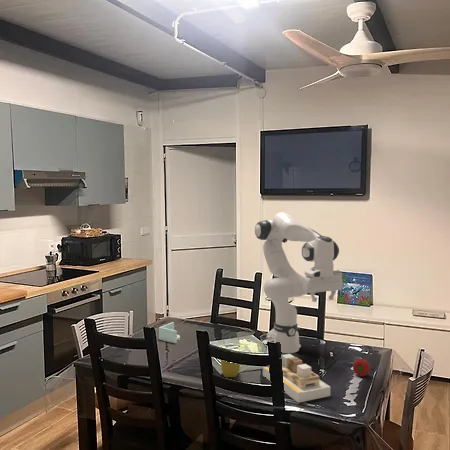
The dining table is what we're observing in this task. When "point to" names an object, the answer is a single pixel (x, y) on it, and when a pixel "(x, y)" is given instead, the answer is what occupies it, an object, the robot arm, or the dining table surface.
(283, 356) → the block
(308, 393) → the dock
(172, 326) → the l-shaped corner panel
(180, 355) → the dining table surface
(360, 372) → the tomato
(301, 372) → the block
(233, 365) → the flower pot
